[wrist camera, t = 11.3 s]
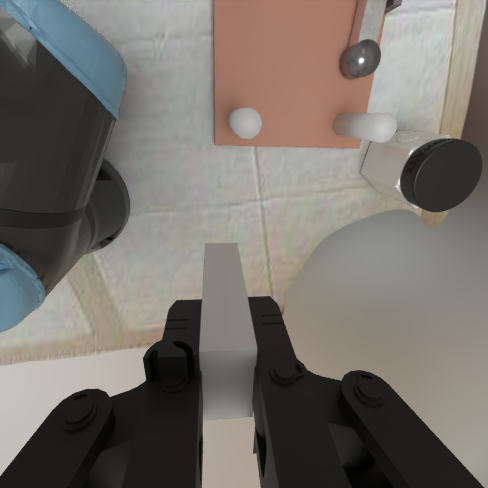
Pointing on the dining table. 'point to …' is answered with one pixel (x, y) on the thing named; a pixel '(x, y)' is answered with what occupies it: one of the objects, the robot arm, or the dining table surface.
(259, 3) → the seat
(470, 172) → the jar
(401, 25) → the dining table surface
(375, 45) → the shiny metal angled handle
